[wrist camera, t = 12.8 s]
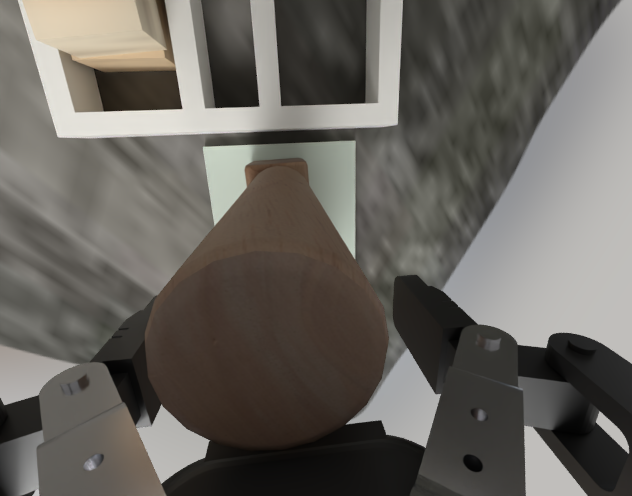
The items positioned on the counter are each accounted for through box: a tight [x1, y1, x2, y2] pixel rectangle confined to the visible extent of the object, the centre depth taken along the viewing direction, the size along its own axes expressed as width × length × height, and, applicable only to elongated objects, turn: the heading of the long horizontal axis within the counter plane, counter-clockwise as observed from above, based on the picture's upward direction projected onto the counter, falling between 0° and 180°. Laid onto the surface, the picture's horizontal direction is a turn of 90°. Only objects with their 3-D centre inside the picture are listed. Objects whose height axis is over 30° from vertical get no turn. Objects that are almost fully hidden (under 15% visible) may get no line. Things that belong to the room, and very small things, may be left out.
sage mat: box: [203, 141, 355, 259], centre depth 23 cm, size 12×10×1 cm
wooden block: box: [145, 158, 389, 451], centre depth 14 cm, size 4×11×18 cm, turn 4°
